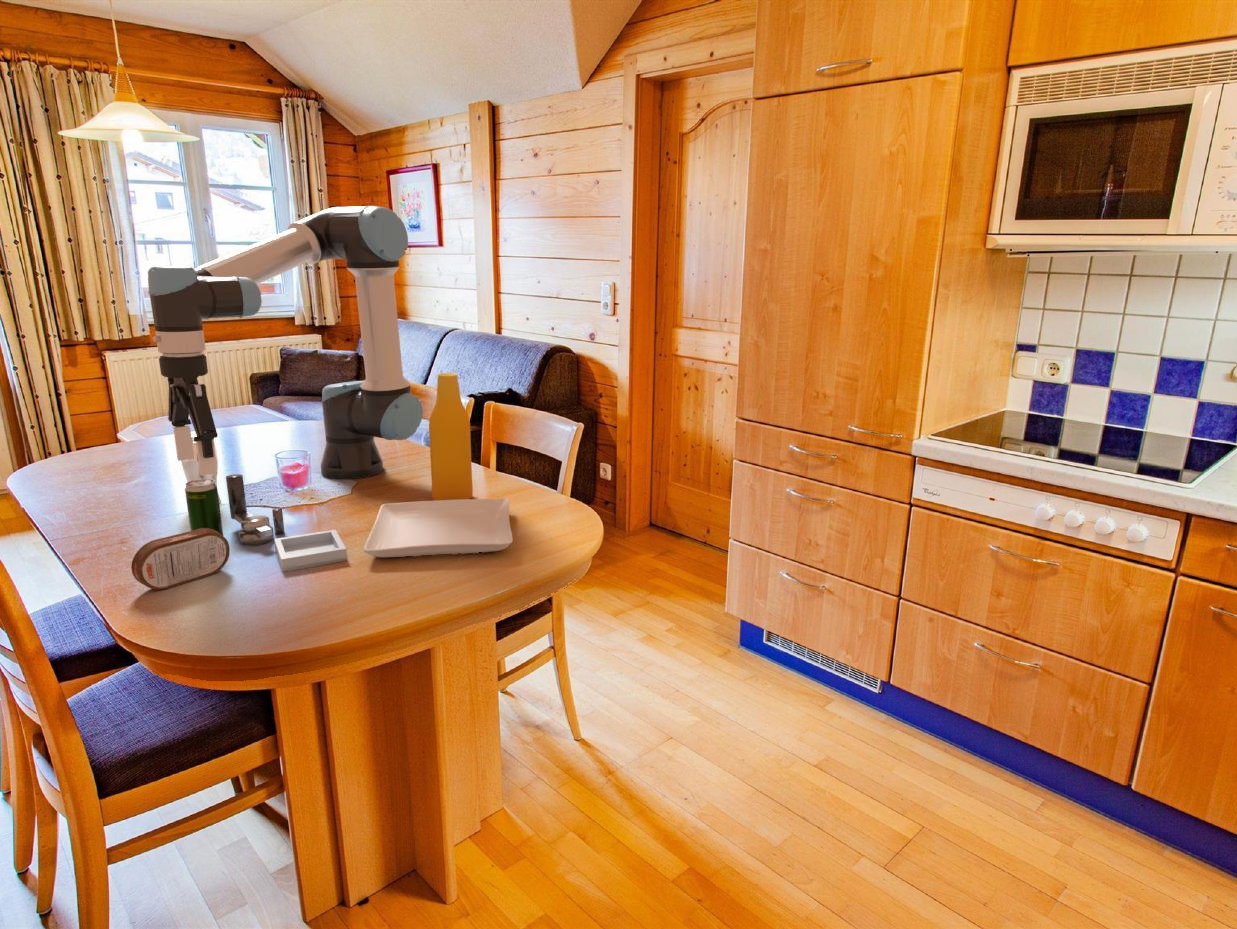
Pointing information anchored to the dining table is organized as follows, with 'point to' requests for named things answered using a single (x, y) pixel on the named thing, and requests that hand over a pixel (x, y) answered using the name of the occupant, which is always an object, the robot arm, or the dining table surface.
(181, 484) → the dining table surface
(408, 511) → the square plate
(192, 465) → the beer glass
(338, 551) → the tray
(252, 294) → the robot arm
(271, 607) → the dining table surface
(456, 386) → the beer bottle
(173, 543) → the tin
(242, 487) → the crank
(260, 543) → the base
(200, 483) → the beer can
